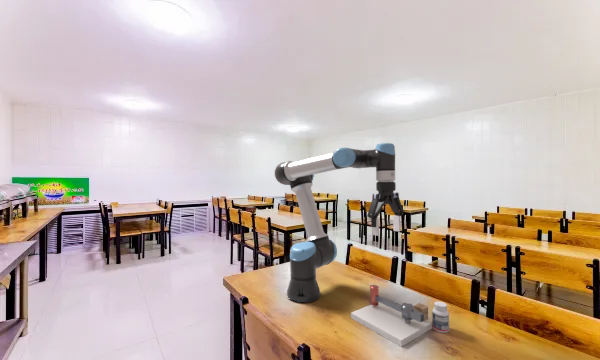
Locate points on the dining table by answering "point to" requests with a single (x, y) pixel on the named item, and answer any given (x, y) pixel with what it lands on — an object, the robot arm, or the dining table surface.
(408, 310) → the lever
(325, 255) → the robot arm
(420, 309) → the walnut block
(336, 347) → the dining table surface
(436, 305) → the pill bottle
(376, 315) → the base
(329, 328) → the dining table surface
